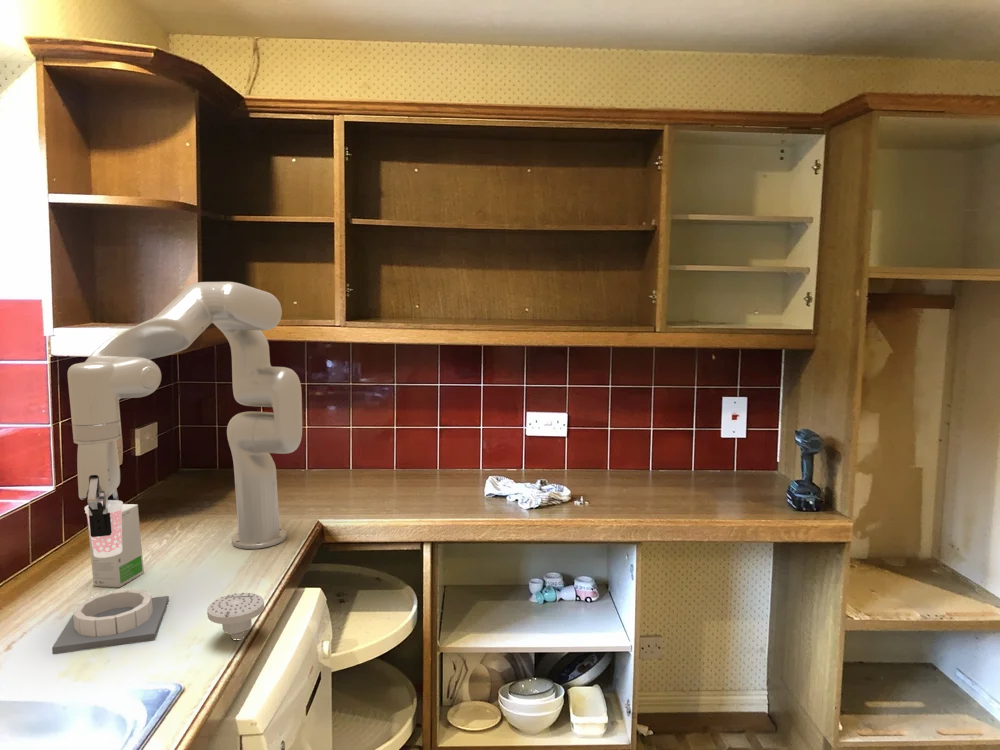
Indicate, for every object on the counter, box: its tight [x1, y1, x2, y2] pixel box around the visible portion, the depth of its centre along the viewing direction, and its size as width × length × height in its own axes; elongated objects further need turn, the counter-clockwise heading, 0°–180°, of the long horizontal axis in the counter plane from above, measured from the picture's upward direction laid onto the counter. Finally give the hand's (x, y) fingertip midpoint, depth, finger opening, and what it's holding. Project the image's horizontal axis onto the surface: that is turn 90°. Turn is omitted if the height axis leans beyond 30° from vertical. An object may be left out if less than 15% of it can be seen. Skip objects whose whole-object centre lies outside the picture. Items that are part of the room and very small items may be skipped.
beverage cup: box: [84, 493, 124, 558], centre depth 131 cm, size 6×6×14 cm
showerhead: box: [206, 592, 265, 640], centre depth 128 cm, size 9×7×10 cm
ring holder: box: [51, 588, 170, 655], centre depth 133 cm, size 16×16×4 cm
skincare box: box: [86, 503, 145, 588], centre depth 153 cm, size 8×7×16 cm
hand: (106, 528), depth 131 cm, fingers closed on beverage cup, 6 cm apart
